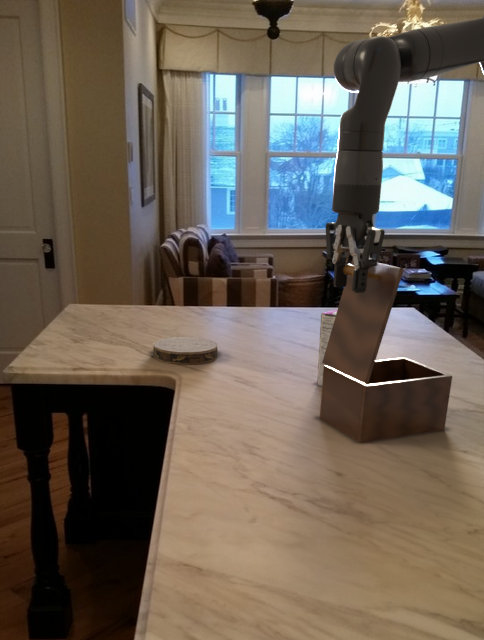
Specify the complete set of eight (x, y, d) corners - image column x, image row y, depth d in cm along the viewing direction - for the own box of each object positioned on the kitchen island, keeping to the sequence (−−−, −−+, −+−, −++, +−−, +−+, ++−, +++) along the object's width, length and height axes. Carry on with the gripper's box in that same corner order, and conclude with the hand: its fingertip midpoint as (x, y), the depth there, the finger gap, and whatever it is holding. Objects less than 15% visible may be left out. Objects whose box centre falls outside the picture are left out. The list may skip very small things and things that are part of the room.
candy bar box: (343, 377, 162) (350, 305, 156) (362, 381, 159) (369, 309, 153) (314, 386, 154) (320, 312, 148) (333, 391, 151) (340, 315, 145)
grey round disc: (156, 365, 167) (156, 353, 165) (150, 348, 181) (150, 337, 180) (222, 363, 170) (223, 351, 169) (211, 347, 184) (211, 336, 183)
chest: (398, 409, 141) (405, 357, 137) (444, 432, 130) (452, 375, 126) (319, 420, 134) (323, 365, 130) (359, 445, 122) (366, 386, 118)
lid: (356, 258, 125) (333, 251, 122) (404, 268, 113) (379, 261, 111) (325, 363, 130) (302, 359, 127) (368, 383, 118) (343, 379, 116)
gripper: (404, 183, 107) (393, 295, 114) (352, 180, 120) (344, 281, 126) (363, 183, 105) (354, 298, 111) (314, 180, 117) (307, 284, 123)
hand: (348, 289), depth 118 cm, fingers closed on lid, 5 cm apart
